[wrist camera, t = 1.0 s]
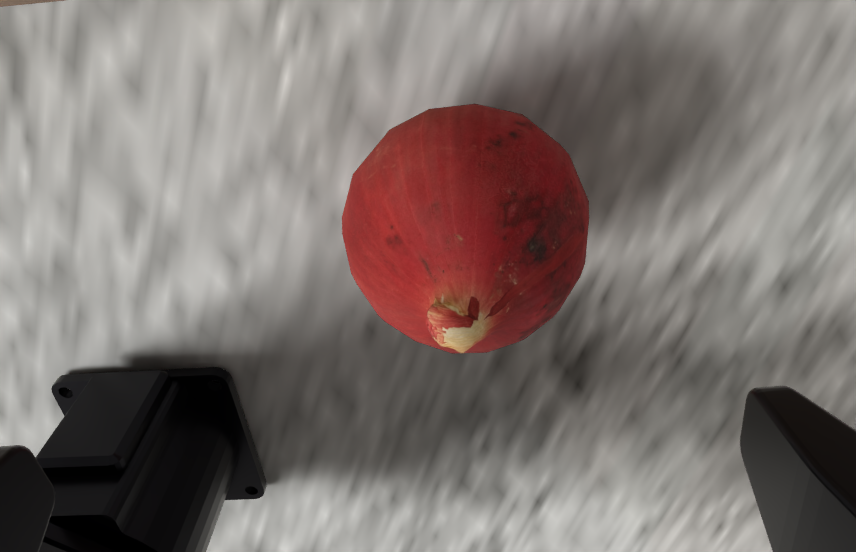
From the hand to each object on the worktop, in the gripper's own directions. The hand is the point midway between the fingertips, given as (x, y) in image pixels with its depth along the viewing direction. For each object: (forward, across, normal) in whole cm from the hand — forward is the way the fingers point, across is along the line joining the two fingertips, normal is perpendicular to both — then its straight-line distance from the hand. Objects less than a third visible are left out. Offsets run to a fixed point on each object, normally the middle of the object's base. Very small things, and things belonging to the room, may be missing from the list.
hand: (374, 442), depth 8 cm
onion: (+12, -1, +2) cm, 12 cm away
